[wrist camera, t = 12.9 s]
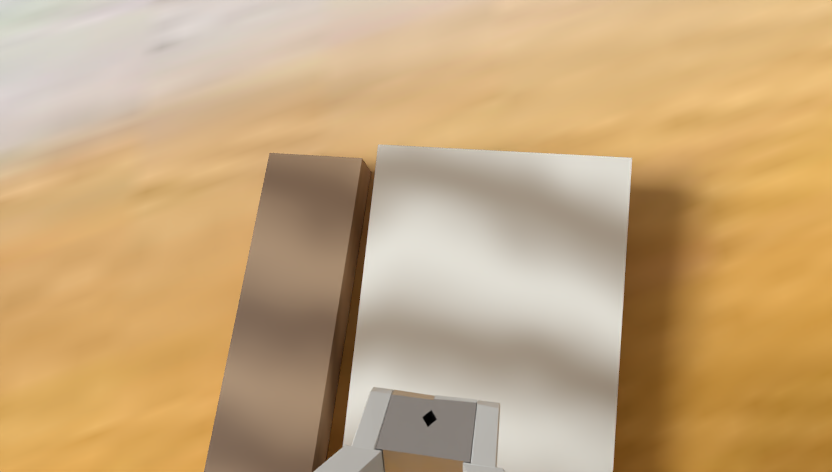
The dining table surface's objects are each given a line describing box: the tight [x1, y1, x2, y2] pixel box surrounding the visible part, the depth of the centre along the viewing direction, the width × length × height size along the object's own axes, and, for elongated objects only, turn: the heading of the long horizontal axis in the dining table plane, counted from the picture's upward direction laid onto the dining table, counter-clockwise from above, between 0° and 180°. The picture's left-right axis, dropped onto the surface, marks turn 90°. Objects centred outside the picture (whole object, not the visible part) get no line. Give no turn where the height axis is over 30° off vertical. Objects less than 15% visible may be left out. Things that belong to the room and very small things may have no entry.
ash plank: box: [343, 145, 632, 472], centre depth 24 cm, size 20×12×2 cm, turn 173°
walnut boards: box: [204, 153, 371, 472], centre depth 24 cm, size 31×21×2 cm
